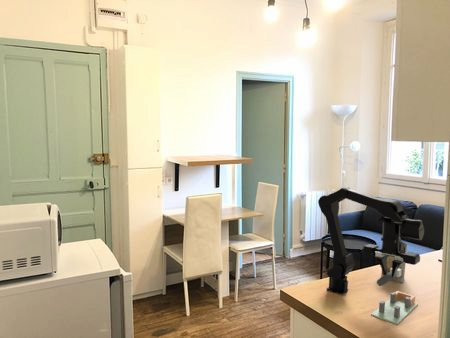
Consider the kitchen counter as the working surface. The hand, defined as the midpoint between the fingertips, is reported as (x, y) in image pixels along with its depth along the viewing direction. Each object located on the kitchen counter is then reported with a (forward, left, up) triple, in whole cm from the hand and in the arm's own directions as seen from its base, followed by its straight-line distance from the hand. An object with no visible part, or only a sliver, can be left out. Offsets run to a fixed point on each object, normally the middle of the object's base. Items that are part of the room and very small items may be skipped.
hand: (389, 276), depth 136 cm
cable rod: (0, -1, -1) cm, 1 cm away
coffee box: (-9, +30, -12) cm, 33 cm away
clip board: (+3, -1, -11) cm, 12 cm away
